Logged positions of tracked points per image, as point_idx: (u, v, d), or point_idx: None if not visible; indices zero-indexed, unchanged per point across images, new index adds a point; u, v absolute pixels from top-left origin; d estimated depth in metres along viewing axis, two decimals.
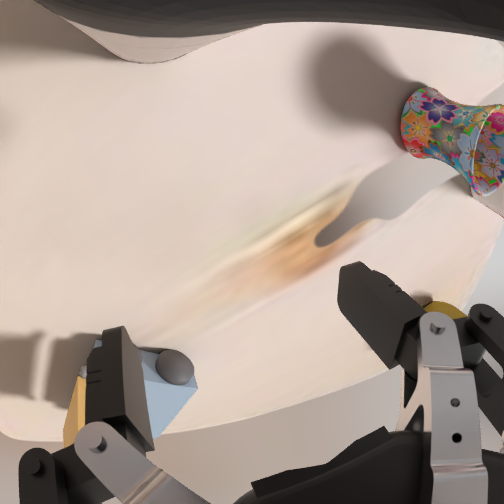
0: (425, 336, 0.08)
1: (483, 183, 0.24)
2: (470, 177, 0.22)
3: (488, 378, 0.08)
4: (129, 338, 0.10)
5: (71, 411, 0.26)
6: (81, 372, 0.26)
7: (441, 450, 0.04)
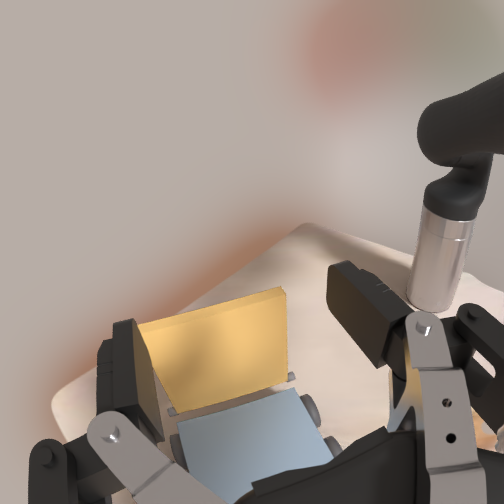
0: (412, 336, 0.08)
1: None
2: None
3: (479, 377, 0.08)
4: (139, 331, 0.10)
5: None
6: None
7: (436, 452, 0.04)
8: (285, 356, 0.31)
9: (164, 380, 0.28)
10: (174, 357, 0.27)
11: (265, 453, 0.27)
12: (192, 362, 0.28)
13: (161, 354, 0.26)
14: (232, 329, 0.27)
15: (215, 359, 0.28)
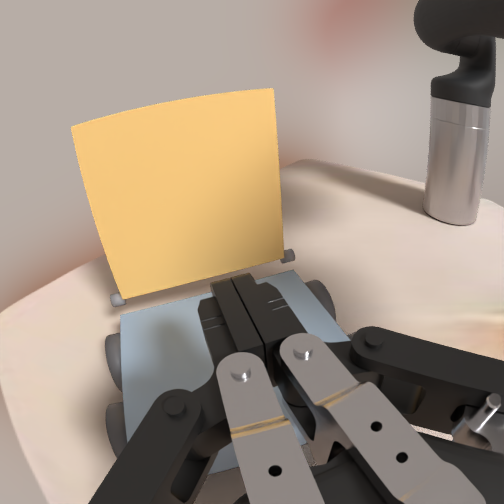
0: (296, 369, 0.07)
1: None
2: None
3: (400, 391, 0.08)
4: None
5: None
6: (286, 250, 0.26)
7: (395, 478, 0.04)
8: (279, 205, 0.23)
9: (101, 222, 0.19)
10: (116, 174, 0.18)
11: None
12: (141, 186, 0.19)
13: (98, 166, 0.17)
14: (200, 132, 0.19)
15: (175, 186, 0.20)
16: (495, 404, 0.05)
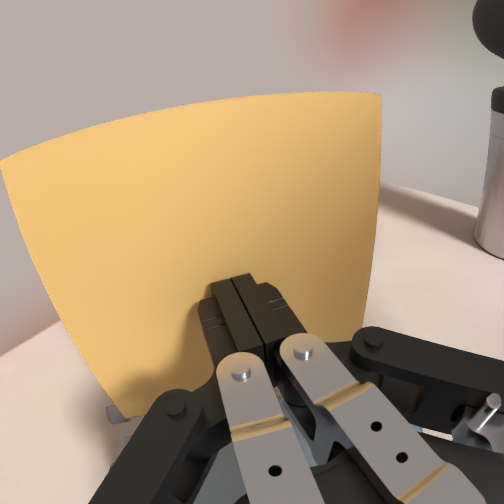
0: (296, 369, 0.07)
1: None
2: None
3: (400, 391, 0.08)
4: None
5: None
6: None
7: (395, 478, 0.04)
8: (366, 283, 0.14)
9: (76, 329, 0.10)
10: (92, 251, 0.09)
11: None
12: (143, 273, 0.10)
13: (57, 237, 0.09)
14: (255, 169, 0.10)
15: (205, 270, 0.11)
16: (495, 404, 0.05)
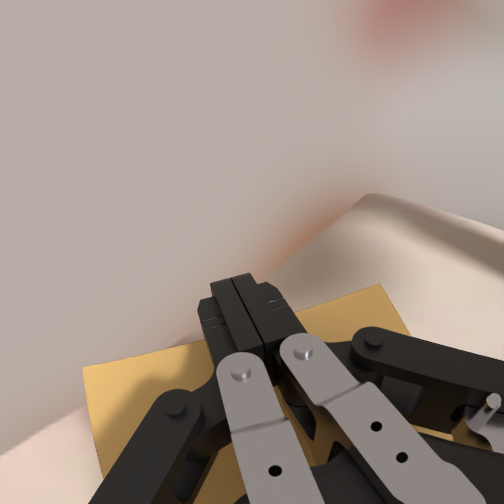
0: (296, 369, 0.07)
1: None
2: None
3: (400, 391, 0.08)
4: None
5: None
6: None
7: (395, 478, 0.04)
8: None
9: None
10: None
11: None
12: None
13: (124, 435, 0.09)
14: None
15: None
16: (495, 404, 0.05)
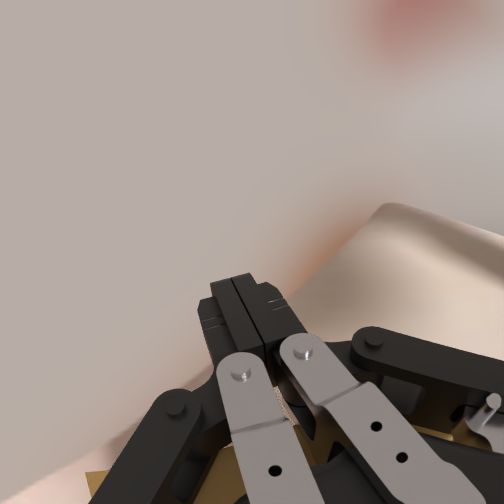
0: (296, 369, 0.07)
1: None
2: None
3: (400, 391, 0.08)
4: None
5: None
6: None
7: (395, 478, 0.04)
8: None
9: None
10: None
11: None
12: None
13: None
14: None
15: None
16: (495, 404, 0.05)
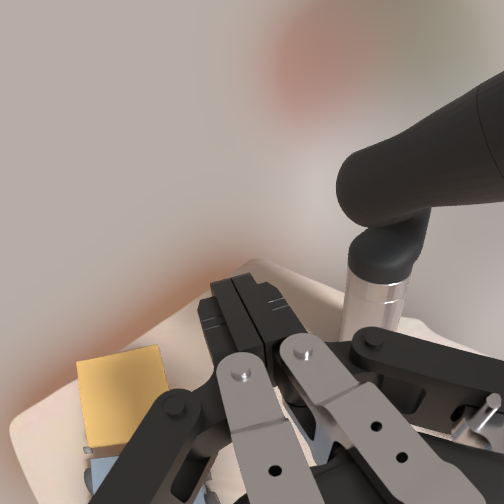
0: (296, 369, 0.07)
1: None
2: None
3: (400, 391, 0.08)
4: None
5: None
6: None
7: (395, 478, 0.04)
8: None
9: (83, 403, 0.35)
10: (92, 382, 0.37)
11: None
12: (102, 389, 0.37)
13: (85, 378, 0.37)
14: (126, 366, 0.39)
15: (116, 390, 0.37)
16: (495, 404, 0.05)
